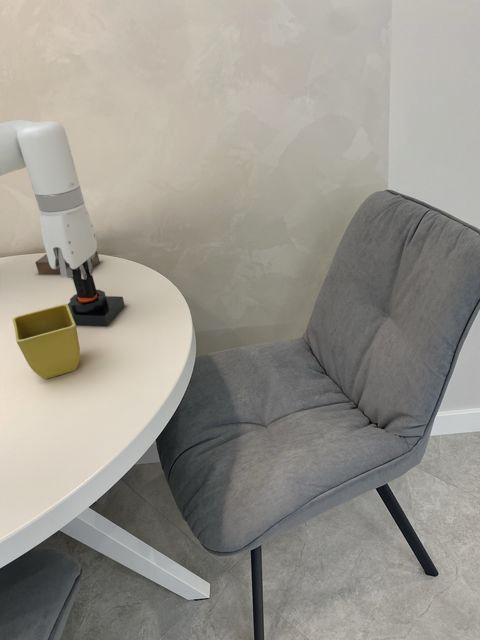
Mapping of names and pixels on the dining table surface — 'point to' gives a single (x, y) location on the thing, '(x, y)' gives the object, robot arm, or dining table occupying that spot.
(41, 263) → the base
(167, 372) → the dining table surface
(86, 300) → the button
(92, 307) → the button block
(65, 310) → the flower pot
